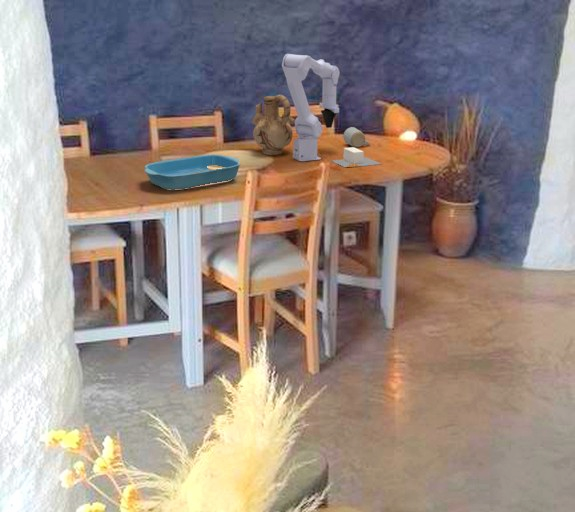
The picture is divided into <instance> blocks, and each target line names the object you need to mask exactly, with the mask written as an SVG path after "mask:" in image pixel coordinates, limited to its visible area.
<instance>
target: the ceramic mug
mask: <svg viewBox="0 0 575 512" xmlns="http://www.w3.org/2000/svg"><path fill="white" fill-rule="evenodd" d="M342 138H343V141H344V142H345V144H347V145H349V146H351V147H354V148H361V147H362V146H364V145H365V146H369V145H370V142H369V141H368V140H366V135H365V134H364V133H363V132H362V131H361V130H359V129H358V128H356V127H353V126H351V127H348V128H347V129H346V130H345V131H344V132H343V137H342Z"/></svg>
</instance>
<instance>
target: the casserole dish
mask: <svg viewBox="0 0 575 512" xmlns="http://www.w3.org/2000/svg"><path fill="white" fill-rule="evenodd" d="M209 165H218V166H222V167H226V168H222V169H216V170H211V171H209V169H208V168H207V166H209ZM240 166H241V163H240V161H239V159H238V158H236V157H233V156H229V155H222V154H202V155H195V156H189V157H183V158H174V159H169V160H167V159H166V160H160V161H155V162H150V163H148V164H146V165H145V166H144V168H145V169H144V172H145V174H146V175H147V176H148V179H149V181H150V182H151V183H152V184H153V185H154V184H155V186H156V185H158V186H160V187H162V188H161V189H163V188H164V189H163V190H165V189H171V190H175V189H185V188H191V187H195V186H200V185H205V184H210V183H217V182H222V181H228V180H231V179H233V180H234V179H235V178H236V176H237V175H238V172H239V168H240ZM200 171H205V172H200ZM194 172H199V173H194ZM190 173H193V174H190ZM158 186H157V187H158ZM160 187H159V188H160Z"/></svg>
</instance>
